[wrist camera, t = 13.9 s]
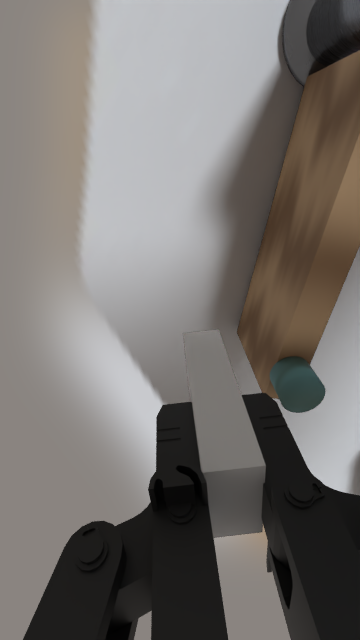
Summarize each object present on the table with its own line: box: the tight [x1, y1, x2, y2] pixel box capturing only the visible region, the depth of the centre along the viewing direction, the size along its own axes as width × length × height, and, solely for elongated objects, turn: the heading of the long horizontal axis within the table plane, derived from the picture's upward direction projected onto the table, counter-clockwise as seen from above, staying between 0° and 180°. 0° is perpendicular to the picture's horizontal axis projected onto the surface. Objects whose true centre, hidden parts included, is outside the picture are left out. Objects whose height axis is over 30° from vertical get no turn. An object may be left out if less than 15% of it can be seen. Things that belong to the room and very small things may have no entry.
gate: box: [237, 50, 360, 413], centre depth 18 cm, size 18×2×10 cm, turn 171°
